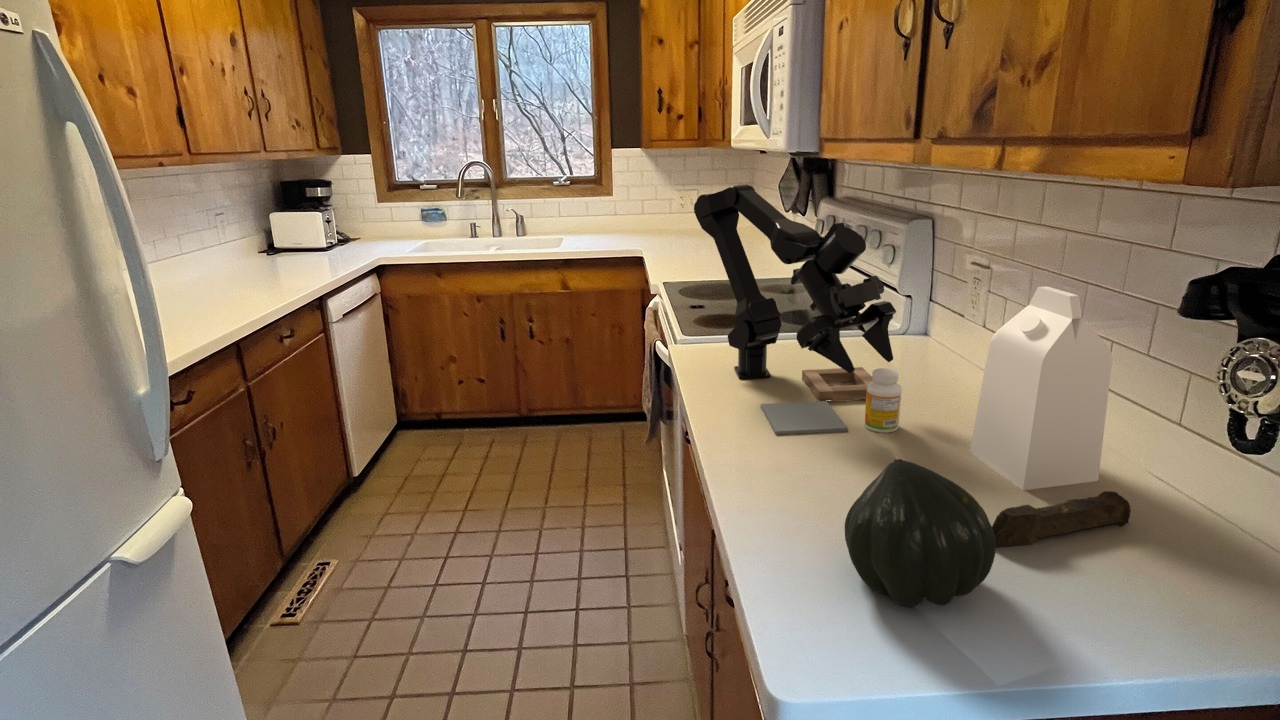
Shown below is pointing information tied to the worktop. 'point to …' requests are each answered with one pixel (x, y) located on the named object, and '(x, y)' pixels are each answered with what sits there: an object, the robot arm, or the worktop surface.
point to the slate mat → (803, 417)
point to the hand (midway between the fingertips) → (872, 366)
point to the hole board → (849, 392)
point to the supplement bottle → (883, 401)
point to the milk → (1044, 396)
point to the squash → (919, 536)
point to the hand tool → (1058, 518)
